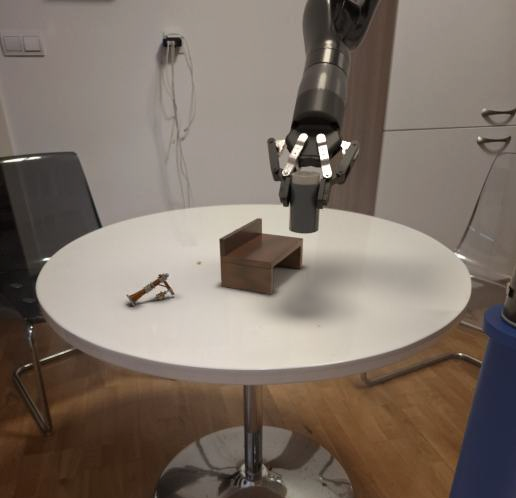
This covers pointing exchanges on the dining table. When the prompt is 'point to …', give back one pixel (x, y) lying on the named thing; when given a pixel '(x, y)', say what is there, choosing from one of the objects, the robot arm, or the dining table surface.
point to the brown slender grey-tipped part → (149, 287)
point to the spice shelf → (256, 257)
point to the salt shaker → (304, 202)
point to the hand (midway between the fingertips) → (302, 204)
